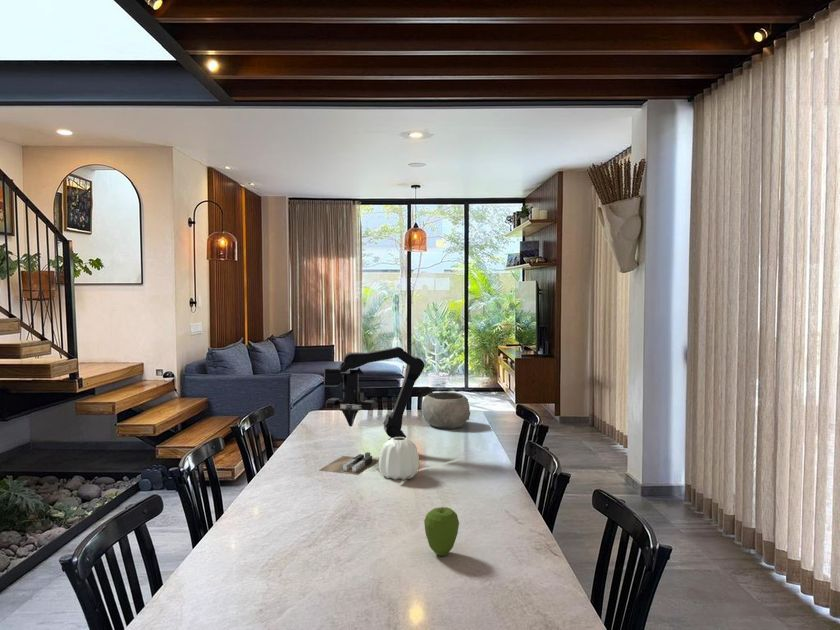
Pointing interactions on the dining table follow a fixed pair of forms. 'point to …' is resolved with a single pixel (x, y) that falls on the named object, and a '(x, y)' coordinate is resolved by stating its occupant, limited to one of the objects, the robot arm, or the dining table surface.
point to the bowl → (446, 409)
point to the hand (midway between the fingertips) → (350, 426)
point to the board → (338, 464)
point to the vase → (399, 459)
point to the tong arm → (353, 462)
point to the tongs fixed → (362, 463)
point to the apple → (441, 529)
